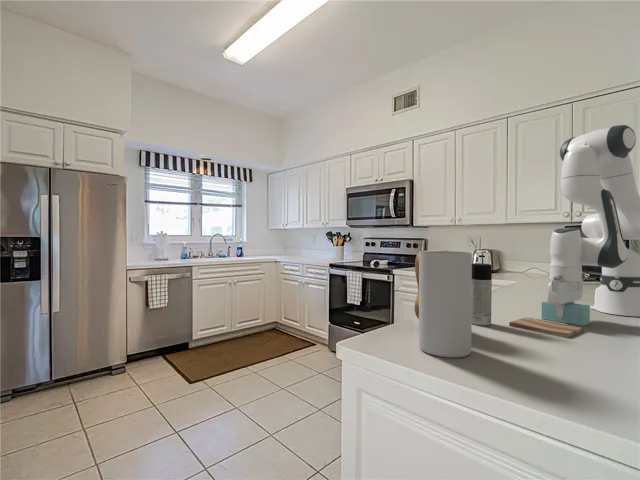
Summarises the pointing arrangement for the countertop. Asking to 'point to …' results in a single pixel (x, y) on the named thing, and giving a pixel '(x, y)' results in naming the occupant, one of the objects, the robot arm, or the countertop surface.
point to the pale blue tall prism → (567, 313)
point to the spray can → (481, 294)
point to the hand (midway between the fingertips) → (565, 315)
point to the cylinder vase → (445, 303)
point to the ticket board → (547, 327)
